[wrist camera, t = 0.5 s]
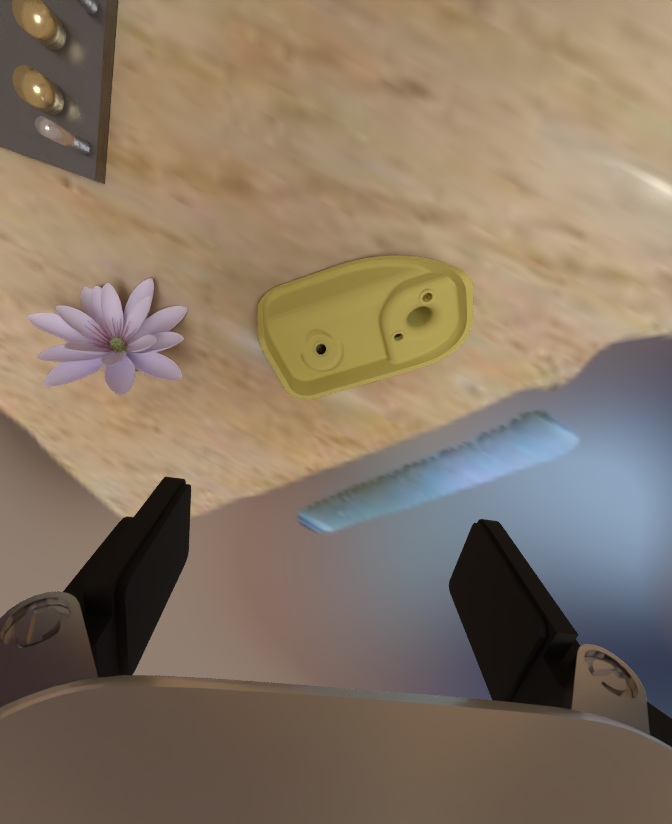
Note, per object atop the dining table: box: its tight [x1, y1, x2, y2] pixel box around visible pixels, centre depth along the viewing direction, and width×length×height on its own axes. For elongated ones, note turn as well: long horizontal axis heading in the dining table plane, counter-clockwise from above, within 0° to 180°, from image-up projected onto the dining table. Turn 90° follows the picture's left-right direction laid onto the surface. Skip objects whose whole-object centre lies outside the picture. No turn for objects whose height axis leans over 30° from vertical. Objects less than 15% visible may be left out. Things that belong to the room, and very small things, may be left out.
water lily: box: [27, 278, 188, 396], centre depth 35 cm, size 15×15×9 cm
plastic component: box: [257, 255, 473, 399], centre depth 36 cm, size 20×7×10 cm
